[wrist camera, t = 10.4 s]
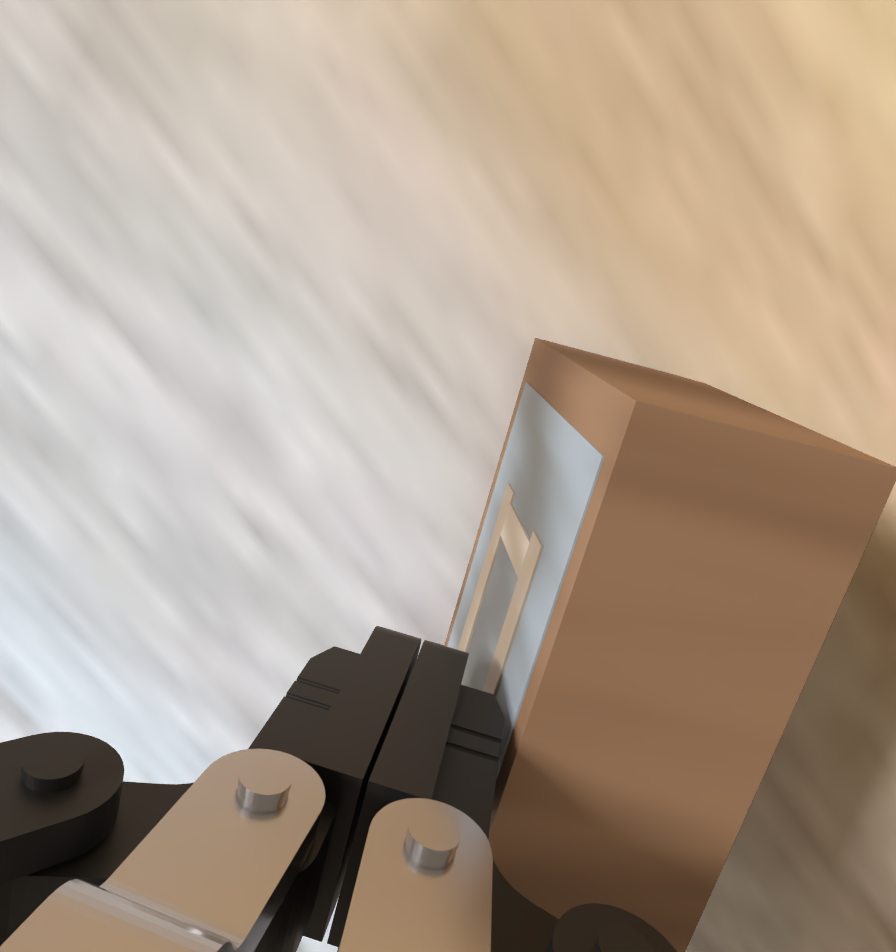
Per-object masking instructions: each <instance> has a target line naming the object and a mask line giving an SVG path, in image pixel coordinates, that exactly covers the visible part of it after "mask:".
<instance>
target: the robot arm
mask: <svg viewBox="0 0 896 952" xmlns="http://www.w3.org/2000/svg"><path fill="white" fill-rule="evenodd" d="M420 644H421V639H420V638H416V637H413V636H410V635H406V634H403V633H400V632H396V631H393V630H389V629H386V628H383V627H379V626H376V627H375V629H374V631H373V633H372V634H371V636H370V638H369V640H368V641H367V643H366V645H365V647H364V649H363V650H362V652H361V654H358V653H355V652H351V651H348V650H345V649H341V648H338V647H335V646H334V647H332V648H330V649H328V650H326V651H324V652H322V653H320V654H318V655H316V656H314V657H312V658H311V659H310V660H309V661H308V663H307V664H306V666H305V667H304V669H303V670H302V672H301V673H300V674H299V676H298V678H297V681H295V682H294V683H293V685H292V686H291V688H290V689H289V690H288V692H287V695H286V697H284V698H283V699H282V701H281V702H280V704H279V705H278V706H277V708H276V709H275V711H274V712H273V714H272V715H271V717H270V718H269V720H268V721H267V722H266V724H265V725H264V727H263V728H262V730H261V731H260V733H259V734H258V736H257V737H256V738H255V740H254V741H253V743H252V744H251V746H250V747H249V749H247V750H240V751H237V752H233V753H230V754H227V755H225V756H223V757H221V758H219V759H218V760H216V761H215V762H213V763H212V764H211V765H210V766H209V767H208V768H207V769H206V770H205V771H204V772H203V773H202V774H201V776H200V777H199V778H198V779H197V780H196V781H195V782H194V783H190V784H178V785H174V784H152V783H136V782H123V776H124V765H123V761H122V759H121V757H120V755H119V754H118V753H117V751H116V750H115V749H114V748H113V747H111V746H110V745H109V744H107V743H106V742H104V741H102V740H100V739H98V738H95V737H92V736H89V735H85V734H80V733H72V732H51V733H42V734H37V735H31V736H27V737H23V738H19V739H15V740H10V741H6V742H2V743H0V952H296V951H297V948H298V946H299V943H300V941H301V938H302V936H306V937H309V938H312V939H315V940H318V941H321V942H322V940H323V937H324V935H325V932H326V929H327V926H328V924H329V921H330V918H331V916H332V913H333V910H334V908H335V905H336V902H337V900H338V903H337V907H336V910H335V914H334V918H333V922H332V926H331V930H330V934H329V938H328V942H327V943H328V944H331V945H334V946H337V947H338V951H337V952H677V951H676V949H675V948H674V947H673V946H672V945H671V944H670V943H669V941H668V940H667V939H666V938H665V937H664V936H663V935H662V934H661V933H660V932H658V931H657V930H656V929H655V928H654V927H653V926H651V925H650V924H648V923H647V922H646V921H644V920H643V919H641V918H639V917H638V916H636V915H634V914H632V913H630V912H628V911H626V910H623V909H621V908H618V907H614V906H611V905H606V904H599V903H589V904H583V905H578V906H576V907H573V908H571V909H569V910H568V911H567V912H565V913H564V914H563V915H562V916H561V918H560V919H558V918H556V917H554V916H553V915H551V914H550V913H548V912H546V911H545V910H543V909H542V908H540V907H538V906H537V905H535V904H534V903H532V902H531V901H529V900H528V899H526V898H525V897H524V896H522V895H521V894H520V893H519V892H518V891H517V890H515V889H514V888H513V887H512V886H511V885H510V884H509V882H508V881H507V880H506V879H505V878H504V877H503V875H502V874H501V872H500V871H499V870H498V868H497V866H496V864H495V862H494V860H493V857H492V849H491V846H490V843H489V829H490V822H491V815H492V807H493V800H494V793H495V785H496V778H497V771H498V761H499V756H500V749H501V740H502V734H503V727H504V720H505V717H504V715H503V713H502V710H501V708H500V706H499V704H498V702H497V700H496V698H495V696H494V694H491V693H487V692H484V691H481V690H478V689H474V688H471V687H468V686H464V685H461V683H462V679H463V675H464V671H465V667H466V664H467V660H468V656H469V653H467V652H464V651H460V650H457V649H454V648H450V647H447V646H444V645H440V644H437V643H434V642H430V641H427V640H425V641H424V643H423V645H422V648H421V650H420V653H419V649H420ZM418 653H419V655H418ZM417 657H418V658H417ZM339 894H340V895H339ZM338 897H339V899H338Z"/></svg>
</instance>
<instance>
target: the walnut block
mask: <svg viewBox="0 0 896 952" xmlns="http://www.w3.org/2000/svg"><path fill="white" fill-rule="evenodd" d="M895 481H896V467H894V466H892V465H890V464H888V463H885V462H883V461H881V460H878V459H876V458H874V457H872V456H869V455H867V454H865V453H863V452H860V451H858V450H856V449H853V448H851V447H849V446H847V445H844V444H842V443H840V442H837V441H835V440H833V439H831V438H828V437H826V436H824V435H821V434H819V433H817V432H815V431H812V430H810V429H808V428H805V427H803V426H801V425H799V424H796V423H794V422H792V421H789V420H787V419H785V418H783V417H780V416H778V415H776V414H773V413H771V412H769V411H767V410H764V409H762V408H760V407H757V406H755V405H753V404H751V403H748V402H746V401H744V400H741V399H739V398H737V397H735V396H732V395H730V394H728V393H726V392H723V391H721V390H719V389H716V388H714V387H712V386H710V385H707V384H705V383H701V382H698V381H694V380H691V379H687V378H684V377H680V376H677V375H673V374H669V373H665V372H662V371H658V370H654V369H650V368H647V367H643V366H639V365H635V364H631V363H628V362H624V361H620V360H616V359H613V358H609V357H605V356H601V355H598V354H594V353H590V352H586V351H583V350H579V349H575V348H571V347H568V346H564V345H560V344H556V343H553V342H549V341H545V340H541V339H538V338H535V341H534V344H533V347H532V351H531V354H530V358H529V361H528V364H527V368H526V371H525V375H524V378H523V381H522V385H521V388H520V391H519V395H518V398H517V402H516V405H515V408H514V412H513V415H512V419H511V422H510V425H509V429H508V432H507V435H506V439H505V442H504V446H503V449H502V452H501V456H500V459H499V463H498V466H497V469H496V473H495V476H494V479H493V483H492V486H491V490H490V493H489V496H488V500H487V503H486V507H485V510H484V513H483V517H482V520H481V523H480V527H479V530H478V534H477V537H476V540H475V544H474V547H473V551H472V554H471V557H470V561H469V564H468V567H467V571H466V574H465V578H464V581H463V584H462V588H461V591H460V595H459V598H458V601H457V605H456V608H455V611H454V615H453V618H452V622H451V625H450V628H449V632H448V635H447V639H446V642H445V645H444V646H447V647H450V648H454V649H457V650H460V651H464V652H467V653H469V656H468V660H467V664H466V667H465V671H464V675H463V679H462V683H461V685H464V686H468V687H471V688H474V689H478V690H481V691H484V692H487V693H491V694H494V696H495V698H496V700H497V702H498V704H499V706H500V708H501V710H502V713H503V715H504V717H505V720H504V727H503V734H502V740H501V749H500V756H499V761H498V771H497V778H496V785H495V793H494V800H493V807H492V815H491V822H490V829H489V843H490V846H491V849H492V857H493V860H494V862H495V864H496V866H497V868H498V870H499V871H500V872H501V874H502V875H503V877H504V878H505V879H506V880H507V881H508V882H509V884H510V885H511V886H512V887H513V888H514V889H515V890H517V891H518V892H519V893H520V894H521V895H522V896H524V897H525V898H526V899H528V900H529V901H531V902H532V903H534V904H535V905H537V906H538V907H540V908H542V909H543V910H545V911H546V912H548V913H550V914H551V915H553V916H554V917H556V918H558V919H560V918H561V916H562V915H563V914H564V913H565V912H567V911H568V910H569V909H571V908H573V907H576V906H578V905H583V904H589V903H599V904H606V905H611V906H614V907H618V908H621V909H623V910H626V911H628V912H630V913H632V914H634V915H636V916H638V917H639V918H641V919H643V920H644V921H646V922H647V923H648V924H650V925H651V926H653V927H654V928H655V929H656V930H657V931H658V932H660V933H661V934H662V935H663V936H664V937H665V938H666V939H667V940H668V941H669V943H670V944H671V945H672V946H673V947H674V948H675V949H676V951H677V952H685V950H686V948H687V946H688V944H689V941H690V939H691V937H692V935H693V932H694V930H695V928H696V926H697V924H698V921H699V919H700V917H701V915H702V912H703V910H704V908H705V906H706V903H707V901H708V899H709V897H710V895H711V892H712V890H713V888H714V886H715V883H716V881H717V879H718V877H719V874H720V872H721V870H722V868H723V865H724V863H725V861H726V859H727V857H728V854H729V852H730V850H731V848H732V845H733V843H734V841H735V839H736V836H737V834H738V832H739V830H740V828H741V825H742V823H743V821H744V819H745V816H746V814H747V812H748V810H749V807H750V805H751V803H752V801H753V798H754V796H755V794H756V792H757V790H758V787H759V785H760V783H761V781H762V778H763V776H764V774H765V772H766V769H767V767H768V765H769V763H770V761H771V758H772V756H773V754H774V752H775V749H776V747H777V745H778V743H779V740H780V738H781V736H782V734H783V732H784V729H785V727H786V725H787V723H788V720H789V718H790V716H791V714H792V711H793V709H794V707H795V705H796V702H797V700H798V698H799V696H800V694H801V691H802V689H803V687H804V685H805V682H806V680H807V678H808V676H809V673H810V671H811V669H812V667H813V665H814V662H815V660H816V658H817V656H818V653H819V651H820V649H821V647H822V644H823V642H824V640H825V638H826V635H827V633H828V631H829V629H830V627H831V624H832V622H833V620H834V618H835V615H836V613H837V611H838V609H839V606H840V604H841V602H842V600H843V598H844V595H845V593H846V591H847V589H848V586H849V584H850V582H851V580H852V577H853V575H854V573H855V571H856V569H857V566H858V564H859V562H860V560H861V557H862V555H863V553H864V551H865V548H866V546H867V544H868V542H869V539H870V537H871V535H872V533H873V531H874V528H875V526H876V524H877V522H878V519H879V517H880V515H881V513H882V510H883V508H884V506H885V504H886V502H887V499H888V497H889V495H890V493H891V490H892V488H893V486H894V484H895Z"/></svg>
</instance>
